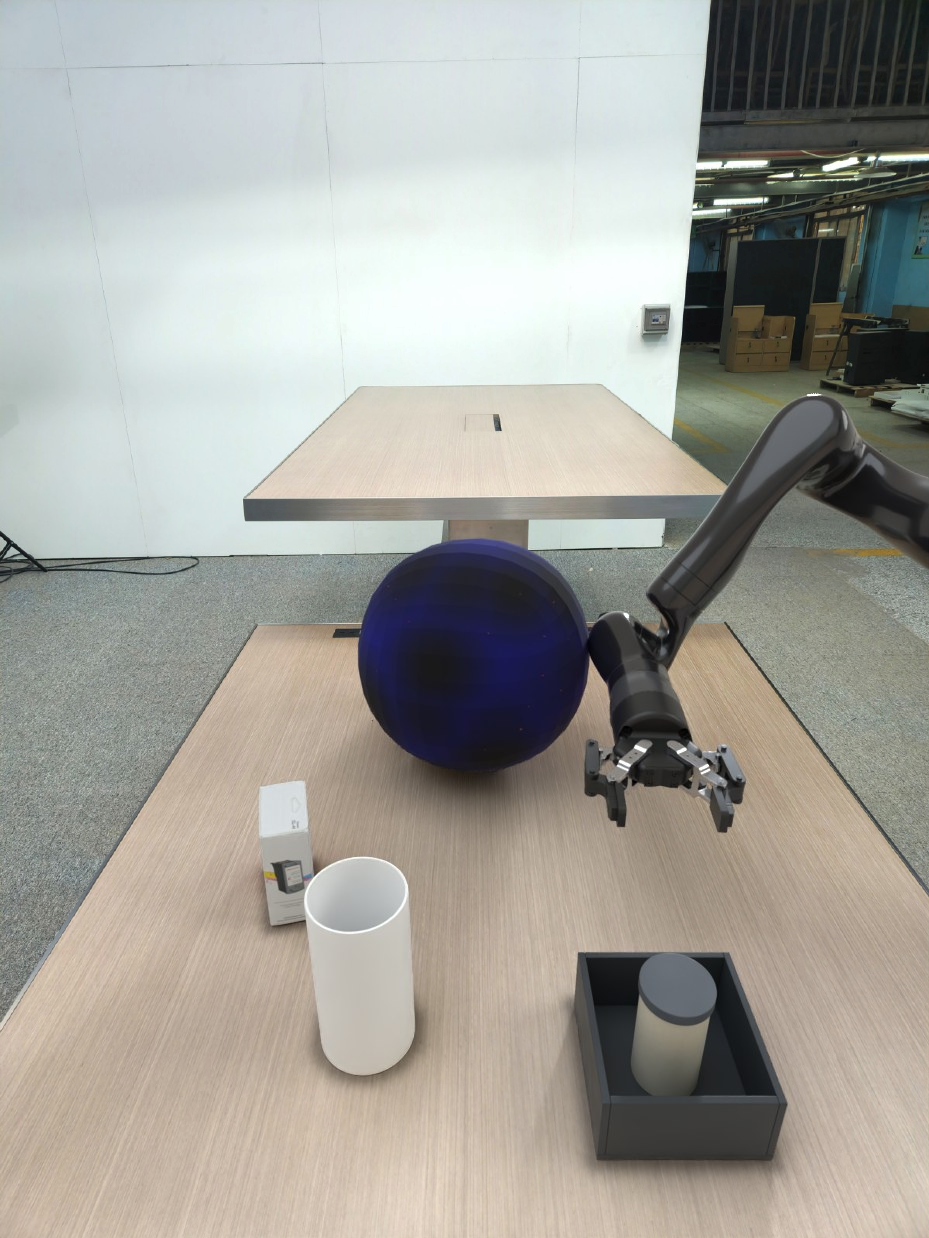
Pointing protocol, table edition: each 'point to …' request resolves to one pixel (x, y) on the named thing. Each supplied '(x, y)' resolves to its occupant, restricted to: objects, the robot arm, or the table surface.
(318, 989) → the cup
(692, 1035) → the container
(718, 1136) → the open storage box
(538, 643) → the ball
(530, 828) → the table surface
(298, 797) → the ink box
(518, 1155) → the table surface
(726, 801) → the robot arm
